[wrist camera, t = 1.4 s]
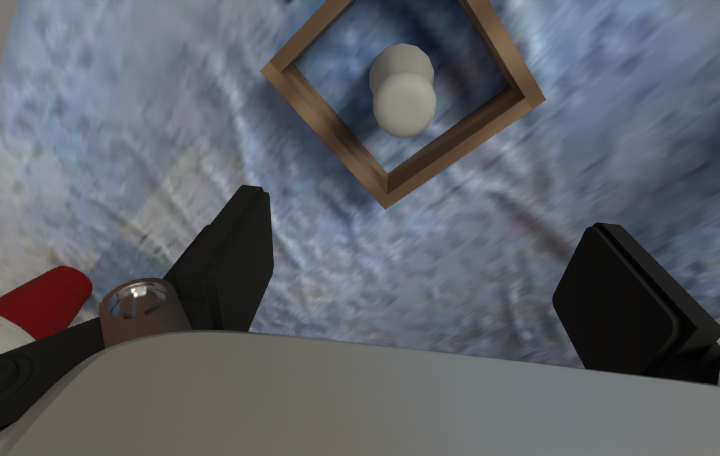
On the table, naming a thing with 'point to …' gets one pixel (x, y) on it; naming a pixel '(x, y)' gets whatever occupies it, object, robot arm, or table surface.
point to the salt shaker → (402, 90)
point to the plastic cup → (42, 306)
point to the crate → (441, 150)
